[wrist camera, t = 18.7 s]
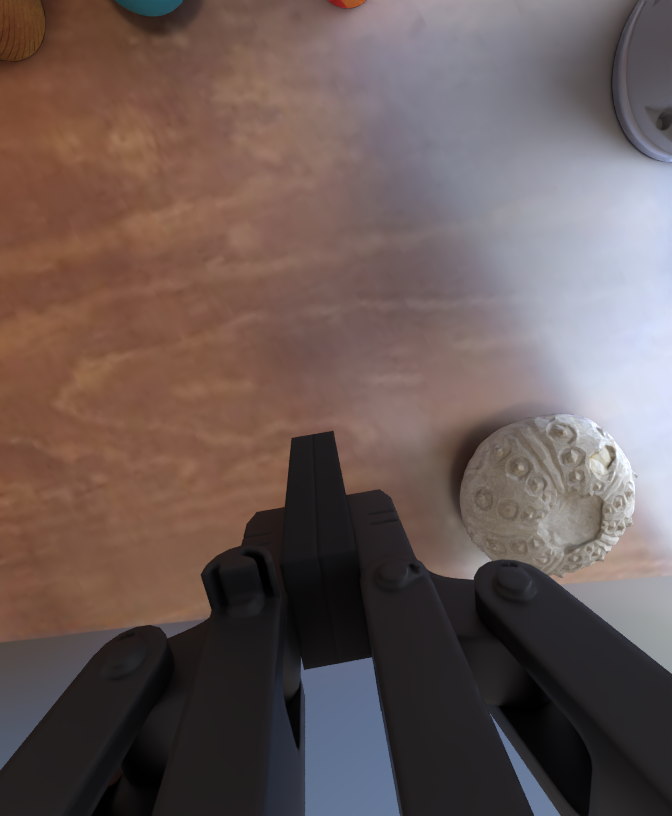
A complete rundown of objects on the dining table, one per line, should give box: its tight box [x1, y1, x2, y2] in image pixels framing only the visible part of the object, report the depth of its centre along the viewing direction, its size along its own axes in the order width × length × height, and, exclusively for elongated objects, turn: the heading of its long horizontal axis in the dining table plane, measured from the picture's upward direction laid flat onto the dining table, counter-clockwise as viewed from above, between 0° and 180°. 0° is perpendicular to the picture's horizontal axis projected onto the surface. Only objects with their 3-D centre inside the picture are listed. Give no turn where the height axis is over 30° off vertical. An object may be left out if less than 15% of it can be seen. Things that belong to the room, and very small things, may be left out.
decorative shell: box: [460, 414, 637, 578], centre depth 40 cm, size 18×18×10 cm
